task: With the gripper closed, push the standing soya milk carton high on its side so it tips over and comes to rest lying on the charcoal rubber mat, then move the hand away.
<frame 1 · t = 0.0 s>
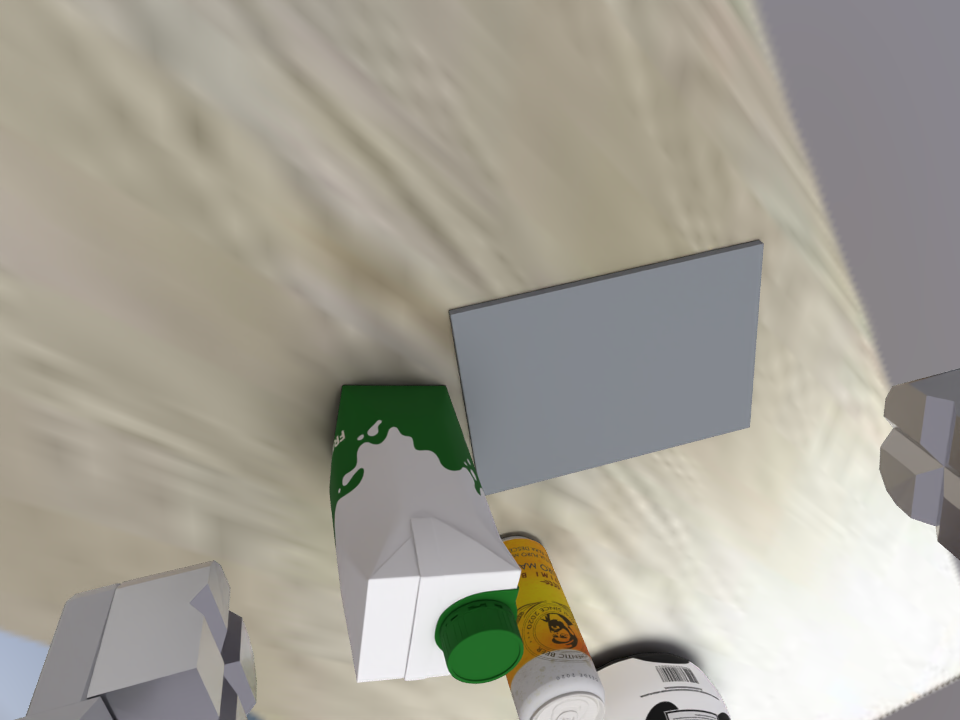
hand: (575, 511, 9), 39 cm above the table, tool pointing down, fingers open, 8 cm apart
beer can: (508, 557, 66), on the table
milk container: (619, 694, 80), on the table
mat: (612, 372, 58), on the table
soya milk: (388, 424, 56), on the table
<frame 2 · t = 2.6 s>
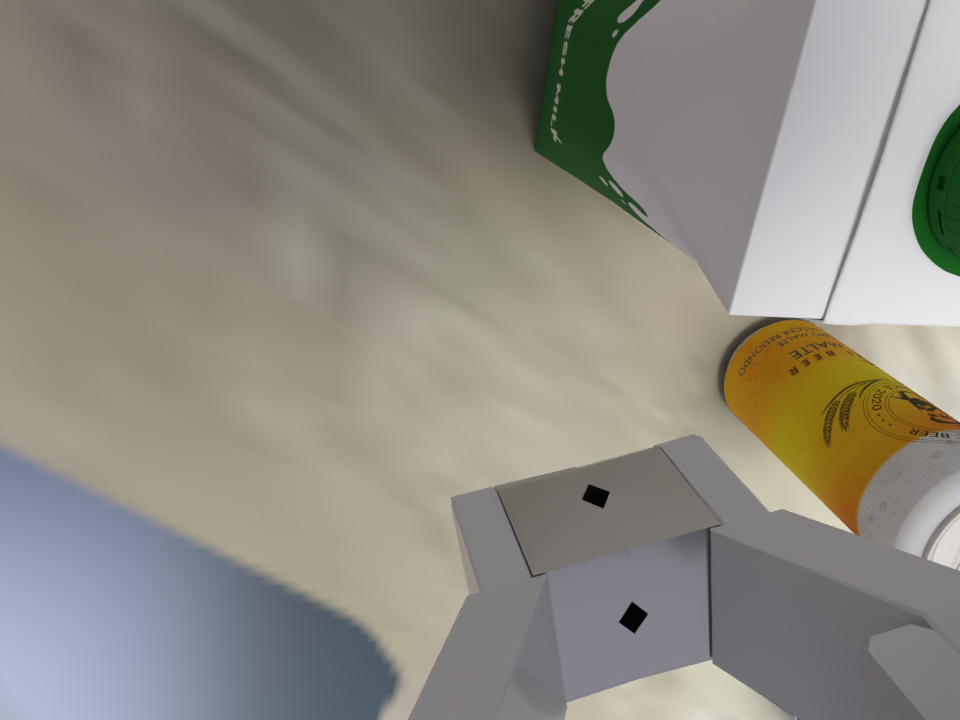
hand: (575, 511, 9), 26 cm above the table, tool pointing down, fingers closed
beer can: (767, 365, 42), on the table
soya milk: (623, 74, 34), on the table
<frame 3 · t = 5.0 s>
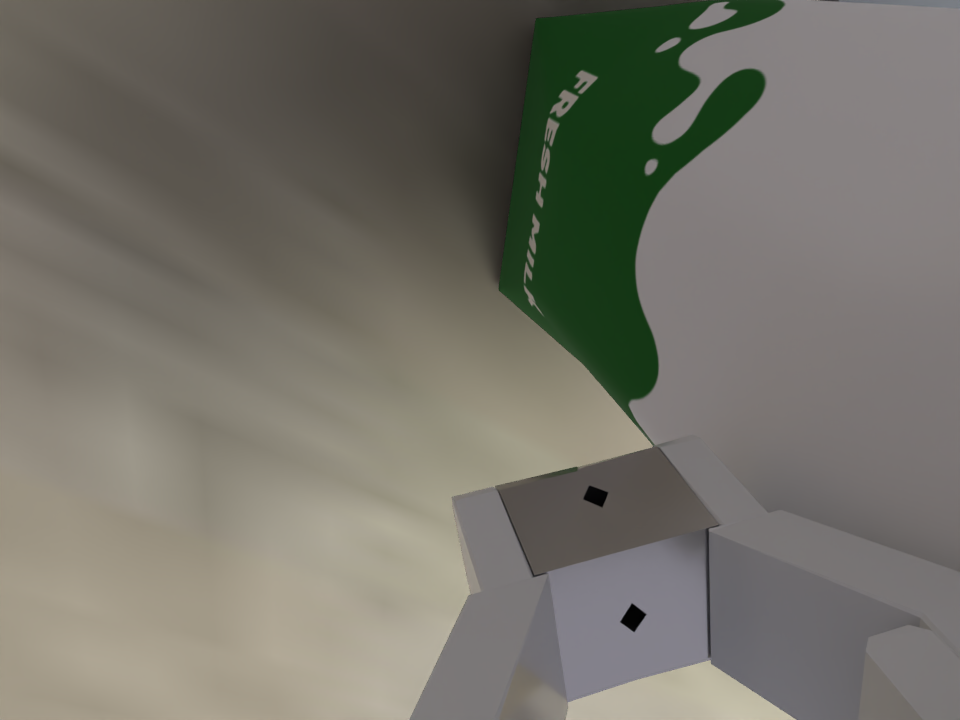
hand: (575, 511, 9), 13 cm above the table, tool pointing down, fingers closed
soya milk: (633, 169, 22), on the table
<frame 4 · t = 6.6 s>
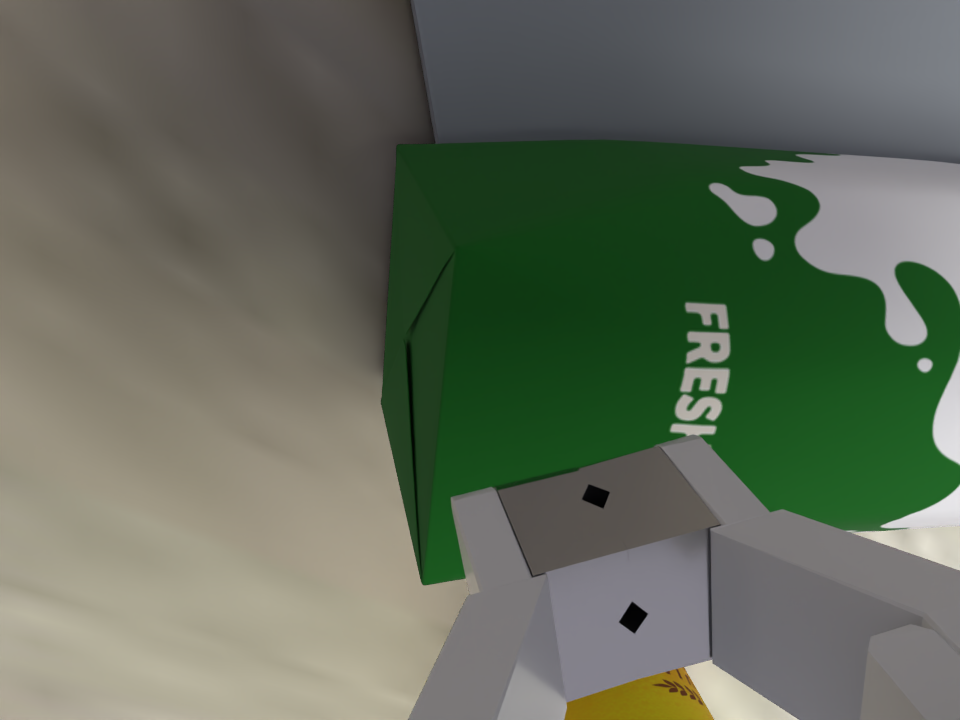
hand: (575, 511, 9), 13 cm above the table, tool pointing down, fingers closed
beer can: (561, 624, 29), on the table
mat: (827, 124, 22), on the table
soya milk: (397, 346, 17), point 5 cm above the table, touching mat
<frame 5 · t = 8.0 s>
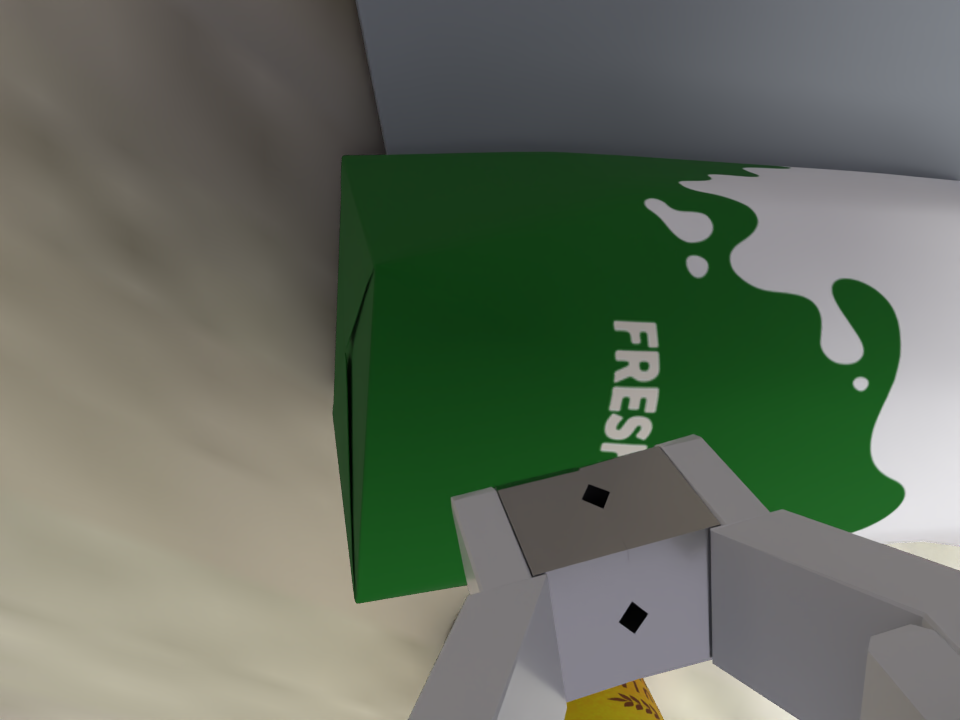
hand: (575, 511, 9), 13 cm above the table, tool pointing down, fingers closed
beer can: (525, 634, 29), on the table
mat: (785, 135, 22), on the table
soya milk: (336, 360, 17), point 5 cm above the table, touching mat
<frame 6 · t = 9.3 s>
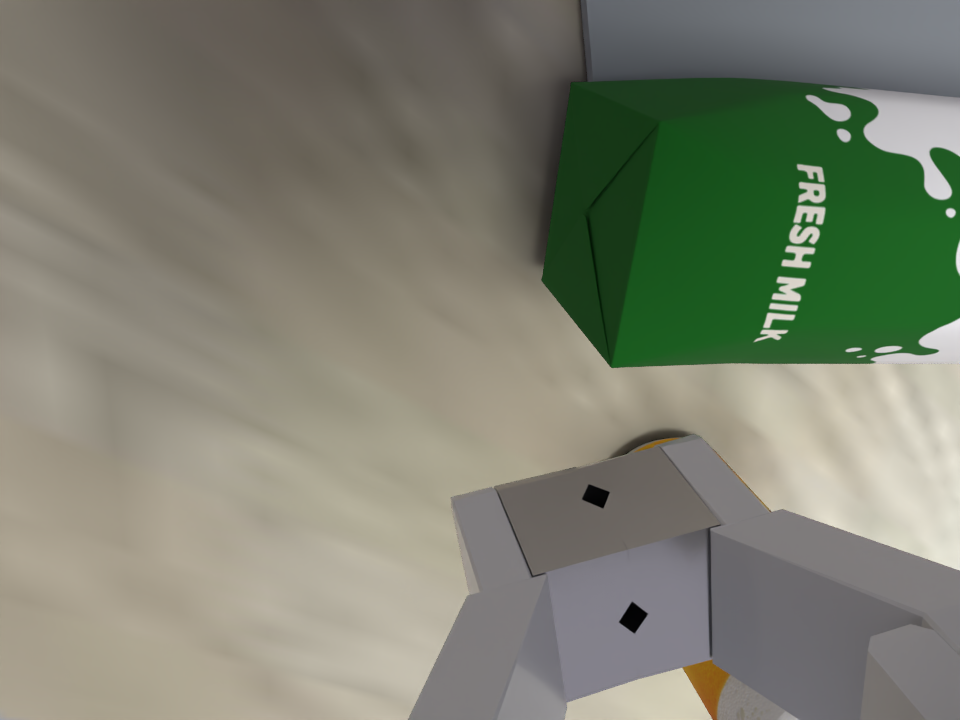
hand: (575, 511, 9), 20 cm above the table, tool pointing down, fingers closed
beer can: (653, 485, 36), on the table
mat: (869, 78, 30), on the table
soya milk: (582, 215, 24), point 5 cm above the table, touching mat
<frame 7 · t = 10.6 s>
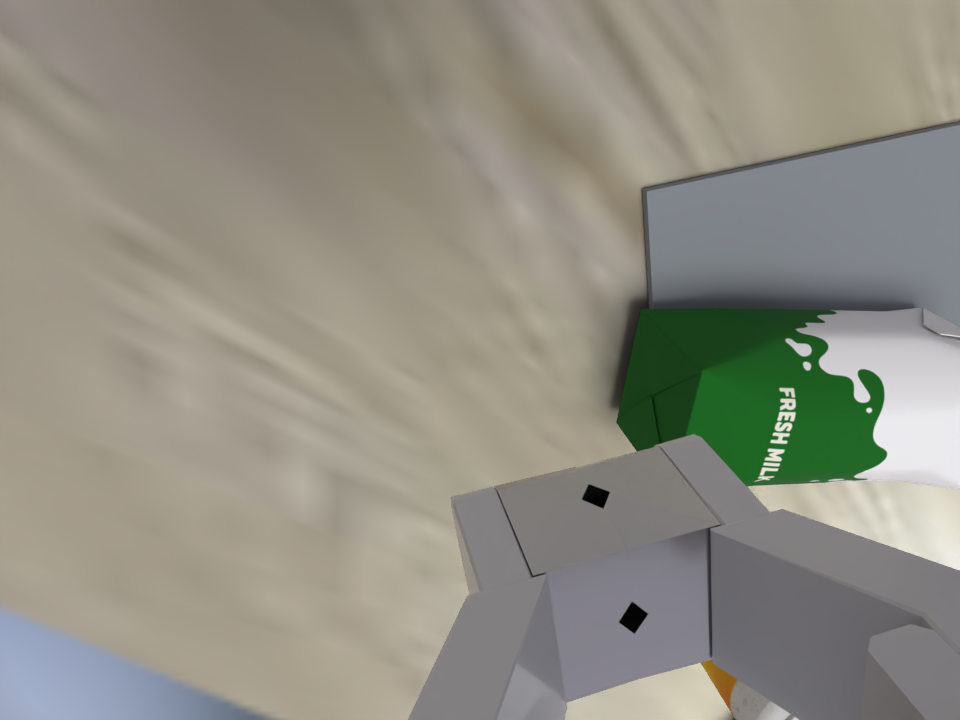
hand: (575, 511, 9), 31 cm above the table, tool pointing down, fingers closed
beer can: (683, 544, 52), on the table
mat: (830, 287, 46), on the table
soya milk: (650, 399, 40), point 5 cm above the table, touching mat
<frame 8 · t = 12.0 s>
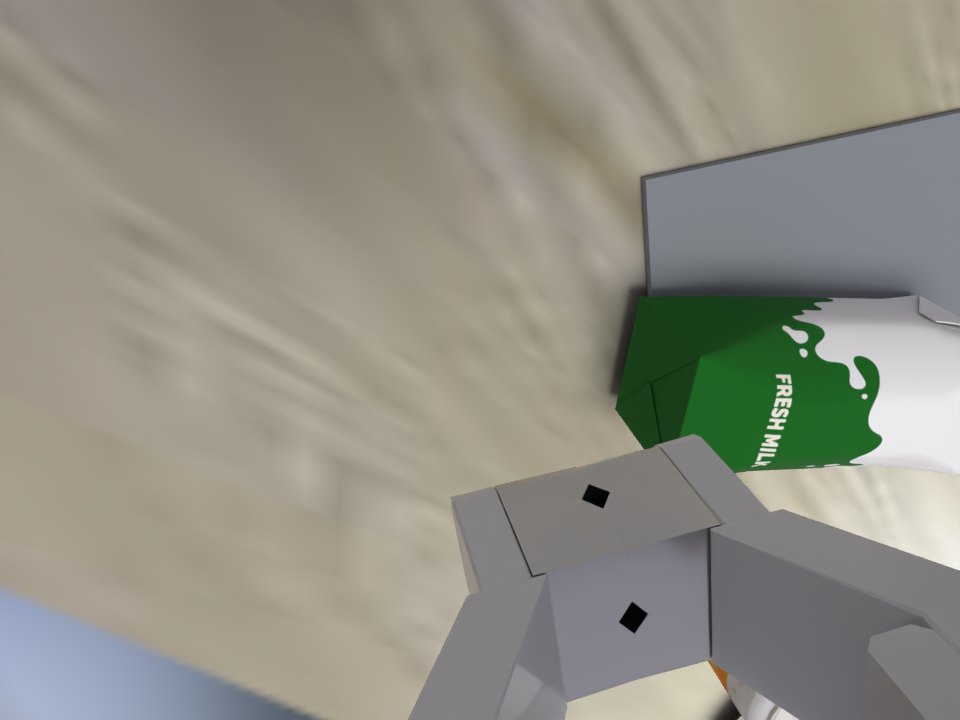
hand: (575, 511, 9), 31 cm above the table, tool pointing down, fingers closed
beer can: (681, 529, 53), on the table
mat: (827, 274, 46), on the table
soya milk: (649, 386, 41), point 5 cm above the table, touching mat
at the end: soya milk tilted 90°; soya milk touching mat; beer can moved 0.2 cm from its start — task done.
